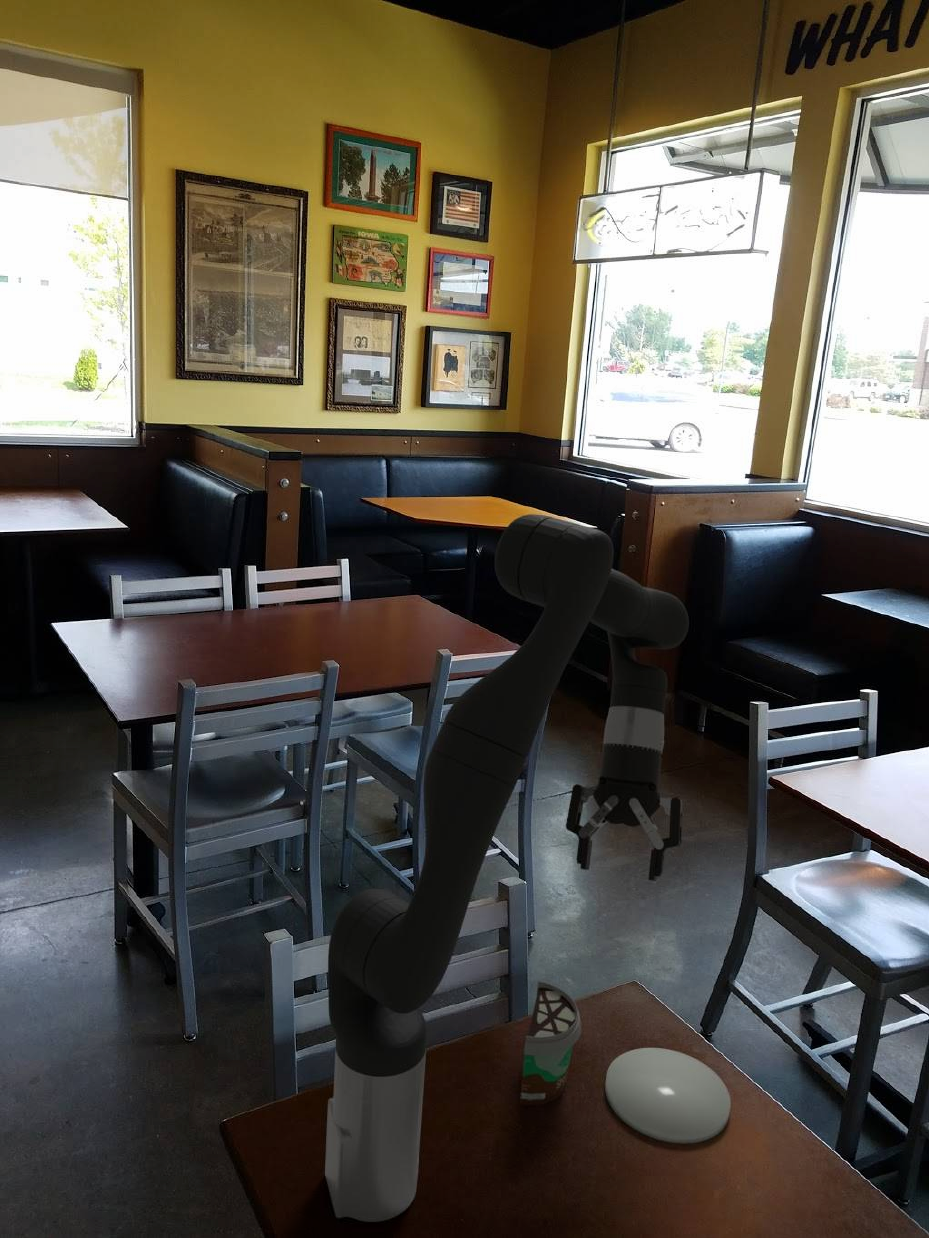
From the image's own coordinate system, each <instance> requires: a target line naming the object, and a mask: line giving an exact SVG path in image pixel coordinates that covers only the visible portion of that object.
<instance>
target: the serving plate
mask: <svg viewBox="0 0 929 1238" xmlns="http://www.w3.org/2000/svg"><path fill="white" fill-rule="evenodd" d="M605 1077H606V1078H605V1084H604V1086H605V1087H604V1088H605V1089H604V1092H605V1095H606V1098H607V1101H608V1103H609V1105H610V1107H611V1109H612V1110H613V1112H614V1113H615V1115H617V1116H618V1117H619V1118H620V1119H621V1120H622V1121H623V1122H624V1123H625V1124H626V1125H628V1126H630V1127H631V1128H632V1129H634V1130H636V1131H637V1132H639V1133H641V1134H643V1135H645V1136H648V1137H649V1138H652V1139H655V1140H658V1141H663V1142H667V1143H674V1144H685V1145H686V1144H695V1143H701V1142H705V1141H707V1140H709V1139H712V1138H714V1137H716V1136H717V1135H718V1134H720V1133H721V1132H722V1131H723V1130H724V1129H725V1127H726V1125H727V1124H728V1121H729V1118H730V1111H731V1105H732V1104H731V1097H730V1093H729V1090H728V1088H727V1086H726V1084H725V1083H724V1082H723V1080H722V1079H721V1077H720V1076H719V1075H718V1074H717V1073H716V1072H715V1071H714V1070H712V1068H710V1067H709V1066H707V1065H706V1064H704V1063H703V1062H702V1061H700V1060H698V1059H697V1058H694V1057H692V1056H690V1055H688V1054H686V1053H683V1052H680V1051H677V1050H672V1049H668V1048H660V1047H641V1048H636V1049H632V1050H629V1051H626V1052H624V1053H622V1054H620V1055H618V1056H617V1057H616V1058H615V1059H613V1061H612V1062H611V1063H610V1065H609V1066H608V1069H607V1071H606V1076H605Z"/></svg>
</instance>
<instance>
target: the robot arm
mask: <svg viewBox="0 0 929 1238" xmlns="http://www.w3.org/2000/svg"><path fill="white" fill-rule="evenodd" d="M614 553H615V550H614V545H613V541H612V539H611V537H609V535H608V534H606V533H605V532H604V531H602V530H599V529H597V528H593V527H590V526H586V525H583V524H579V523H575V522H572V521H568V520H563V519H561V518H558V517H557V518H556V517H552V516H549V515H543V514H535V513H533V514H532V513H530V514H524V515H522V516H519V517H518V518H515V519H514V520H512V522H510V523H509V524H508V525H507V527H506V528H505V529H504V530H503V533H502V534H501V537H500V538H499V541H498V543H497V546H496V550H495V555H494V570H495V575H496V577H497V580H498V582H499V584H500V586H501V587H502V588H503V589H504V590H505V591H506V592H507V593H509V594H510V595H511V596H514V597H515V598H517V599H519V600H522V601H525V602H528V603H530V604H533V605H537V606H539V607H543V608H544V609H543V612H542V613H541V615H540V618H538V621H537V623H536V624H535V625H534V627H533V629H532V631H530V632H531V633H529V636H528V637H527V638H526V639H525V641H524V642H523V644H522V645H520V647H519V648H518V649H517V650H516V651H515V652H514V653H513V654H512V655H511V656H509V657H508V658H507V659H506V660H505V661H504V662H502V663H501V664H499V665H498V666H497V667H496V668H494V669H493V670H491V671H490V672H488V673H487V674H486V675H484V676H483V677H482V678H480V679H479V680H478V681H477V682H475V683H474V684H473V685H472V686H470V687H469V688H468V689H466V690H465V691H464V692H463V693H462V694H461V695H460V696H459V697H457V699H456V700H455V701H454V702H453V703H452V705H451V706H450V708H449V709H448V711H447V713H446V716H445V718H444V719H443V722H442V725H440V729H439V731H438V733H437V736H436V738H435V740H434V743H433V745H432V747H431V750H430V752H429V755H428V757H427V760H426V763H425V767H424V773H423V808H424V809H423V812H424V828H425V830H424V831H425V848H424V858H423V863H422V867H421V871H420V875H419V878H418V880H417V884H416V886H415V889H414V891H413V895H412V897H411V899H410V902H407V900H404V899H402V898H401V897H399V896H398V895H396V894H394V893H393V892H390V891H388V890H385V889H382V888H371V889H370V888H369V889H366V890H363V891H361V892H359V893H357V894H356V895H353V896H352V897H351V899H349V900H348V901H347V903H345V905H344V906H343V908H342V909H341V911H340V912H339V913H338V915H337V917H336V919H335V921H334V925H333V927H332V931H331V934H330V939H329V946H328V951H327V952H328V955H327V957H328V958H327V982H328V983H327V984H328V985H327V987H328V988H327V989H328V991H327V994H328V998H327V999H328V1000H327V1001H328V1016H329V1017H328V1018H329V1023H330V1026H331V1029H332V1032H333V1034H334V1036H335V1056H334V1058H335V1059H334V1075H333V1076H334V1077H333V1080H334V1081H333V1097H331V1098H329V1099H328V1100H327V1115H326V1116H327V1119H326V1142H325V1164H324V1165H325V1166H324V1176H325V1180H326V1183H327V1187H328V1191H329V1194H330V1199H331V1203H332V1208H333V1210H334V1214H335V1215H334V1216H335V1218H337V1219H341V1218H350V1219H351V1218H352V1219H355V1220H357V1221H360V1222H366V1223H367V1222H368V1223H374V1222H375V1223H377V1222H383V1221H388V1220H391V1219H393V1218H396V1217H397V1216H399V1215H400V1214H402V1213H403V1212H405V1211H406V1210H407V1209H408V1208H409V1207H410V1206H411V1204H412V1202H413V1200H414V1199H415V1197H416V1193H417V1184H418V1179H419V1178H418V1177H419V1157H420V1156H419V1155H420V1144H421V1143H420V1142H421V1130H422V1129H421V1127H422V1115H423V1100H424V1088H425V1087H424V1085H425V1084H424V1083H425V1073H426V1071H425V1070H426V1054H427V1041H428V1040H427V1039H428V1028H427V1022H426V1019H425V1015H424V1013H422V1011H421V1009H420V1008H421V1007H422V1006H423V1005H425V1004H426V1003H427V1002H428V1001H429V1000H430V998H431V997H432V996H433V994H434V993H435V992H436V990H437V988H438V987H439V985H440V984H441V981H442V980H443V978H444V976H445V974H446V972H447V969H448V967H449V965H450V962H451V959H452V958H453V957H452V956H453V954H454V952H455V948H456V946H457V942H458V940H459V936H460V933H461V929H462V928H463V927H462V926H463V923H464V920H465V916H466V914H467V911H468V907H469V905H470V902H471V898H472V895H473V892H474V889H475V886H476V884H477V883H476V882H477V879H478V877H479V874H480V871H481V868H482V866H483V863H484V861H485V859H486V858H485V857H486V856H487V853H488V851H489V848H490V845H491V843H492V840H493V839H494V836H495V833H496V830H497V827H498V825H499V823H500V821H501V819H502V816H503V813H504V811H505V809H506V807H507V806H508V805H507V804H508V803H509V800H510V798H511V796H512V795H513V792H514V790H515V787H516V785H517V783H518V780H519V779H520V776H521V773H522V771H523V768H524V767H525V764H526V762H527V760H528V759H527V758H528V757H529V755H530V751H531V750H532V746H533V744H534V741H535V739H536V736H537V734H538V730H539V728H540V725H541V722H542V720H543V718H544V716H545V713H546V711H547V709H548V706H549V704H550V702H551V699H552V697H553V695H554V692H555V691H556V688H557V686H558V683H559V681H560V679H561V677H562V675H563V672H564V671H565V669H566V667H567V664H568V663H569V661H570V659H571V656H572V655H573V654H574V652H575V650H576V647H577V645H578V644H579V642H580V640H581V638H582V636H583V635H584V632H585V631H586V628H587V626H588V625H589V623H592V624H593V625H595V626H597V627H599V629H600V628H601V629H602V630H604V631H605V632H607V633H606V634H607V637H608V643H609V649H610V657H611V668H612V684H611V692H610V693H611V694H610V703H609V708H608V714H607V717H606V721H605V726H604V734H603V744H602V752H601V759H600V760H601V761H600V767H599V768H600V769H599V778H598V782H597V785H596V787H595V788H591V787H588V786H587V787H586V786H583V785H581V784H579V783H577V784H576V783H575V784H574V785H573V786H572V790H571V795H570V801H569V805H568V810H567V817H566V821H565V822H566V824H565V829H566V830H567V831H568V832H571V833H573V835H576V836H577V837H578V844H577V855H576V863H577V864H578V865H580V870H585V871H589V870H590V865H591V856H592V850H593V849H592V847H593V840H592V836H594V835H595V834H596V833H597V832H598V831H599V830H600V829H601V828H603V826H604V825H605V824H606V823H609V824H611V825H617V826H622V825H624V826H627V827H631V828H637V829H638V828H640V827H642V829H643V830H644V833H645V834H646V835H647V837H648V838H649V840H650V841H651V843H652V845H653V849H651V851H650V859H649V860H650V861H649V870H648V871H649V872H648V881H650V882H651V881H652V882H657V878H660V877H661V876H662V875H663V872H664V861H665V855H666V854H665V853H666V851H667V850H669V849H673V848H679V847H680V846H681V845H682V836H683V835H682V834H683V833H682V832H683V809H684V807H683V806H684V802H683V801H682V799H681V798H679V797H678V796H677V797H671V798H669V797H661V796H660V793H659V785H660V778H661V769H662V768H661V766H662V757H663V749H664V746H665V740H664V738H665V710H666V700H667V693H668V692H667V690H668V676H667V673H666V672H665V671H664V670H663V669H661V668H659V667H657V666H654V665H652V664H651V665H650V664H647V663H643V662H640V661H638V660H637V657H636V654H635V652H636V651H635V650H636V649H645V650H647V649H649V650H651V649H652V650H672V649H674V648H677V647H678V646H679V645H681V643H682V642H683V641H684V640H685V638H686V636H687V634H688V632H689V628H690V627H689V626H690V621H689V615H688V611H687V609H686V607H685V605H684V604H683V602H682V601H681V600H680V599H679V597H676V596H675V595H673V594H671V593H669V592H666V591H662V590H659V589H655V588H650V587H647V586H646V587H645V586H643V585H641V584H640V583H639V582H637V581H636V580H634V579H633V578H631V577H629V576H628V575H627V574H625V573H623V572H620V571H619V570H616V569H615V568H613V565H614ZM592 797H593V799H594V802H595V803H596V804H597V807H598V809H597V810H596V812H595V813H593V815H592V816H591V817H590V818H589V820H588V821H587V822H586V823H585V824H584V825H583V826H582V824H581V819H582V813H583V808H584V804H588V802H590V799H591V798H592ZM661 806H662V807H663V809H664V812H665V814H666V815H668V816H669V829H668V831H669V834H668V835H669V836H668V837H663V836H662V835H661V833H660V830H659V828H658V827H657V825H656V823H655V822H654V820H653V818H652V816H653V815H654V814H655V813H656V811H658V810H659V808H660V807H661Z"/></svg>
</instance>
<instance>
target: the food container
mask: <svg viewBox="0 0 929 1238" xmlns="http://www.w3.org/2000/svg"><path fill="white" fill-rule="evenodd" d="M533 1006H534V1007H533V1011H532V1016H531V1021H530V1025H529V1029H528V1035H526V1036H525V1041H524V1042H525V1043H524V1051H523V1064H522V1065H523V1066H522V1077H521V1078H522V1079H521V1088H520V1089H521V1090H520V1101H519V1104H521V1105H529V1106H531V1105H543V1104H546V1103H551V1102H552V1101H554V1100H556V1099H557V1098H558V1097H560V1096H561V1095H562V1093H563V1092H564V1090H565V1088H566V1083H567V1079H568V1072H569V1068H570V1063H571V1057H572V1053H573V1047H574V1045H575V1044H576V1043H577V1041H578V1040H579V1038H580V1037H581V1032H582V1023H581V1016H580V1013H579V1009H578V1006H577V1004H576V1001H574V999H573V998H572V997H571V996H570V995H569V994H568V993H566V991H564V990H563V989H561V988H560V987H557V986H556V985H554V984H551V983H548V982H545V981H541V980H538V982H537V990H536V997H535V1003H534V1005H533Z"/></svg>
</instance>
